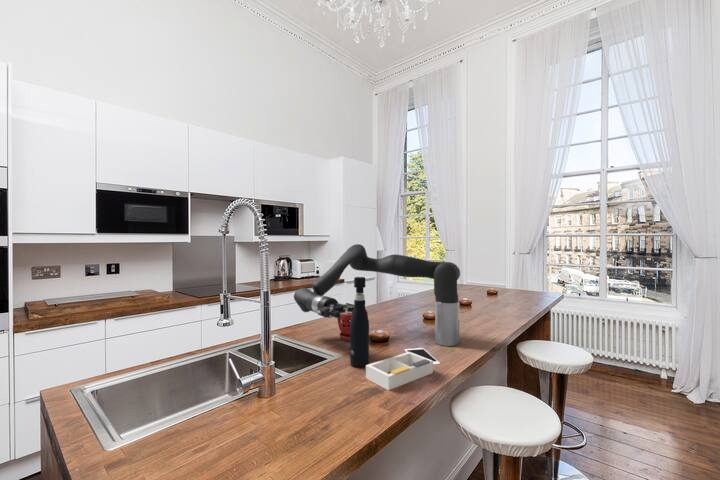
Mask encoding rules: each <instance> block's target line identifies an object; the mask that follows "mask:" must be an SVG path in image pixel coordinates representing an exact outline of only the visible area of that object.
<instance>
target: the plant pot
mask: <svg viewBox="0 0 720 480" xmlns="http://www.w3.org/2000/svg"><path fill="white" fill-rule="evenodd" d="M344 312H345V309H344ZM366 312H367V315H368V314H369V312H368V310H367V309H366ZM351 317H352V313H347V314H340V318H337V326H338V328H339V331H340V332H339V337H340V338H341V339H342V340H344V341H347V342H348V341H349V342H350V322H351Z"/></svg>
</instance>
